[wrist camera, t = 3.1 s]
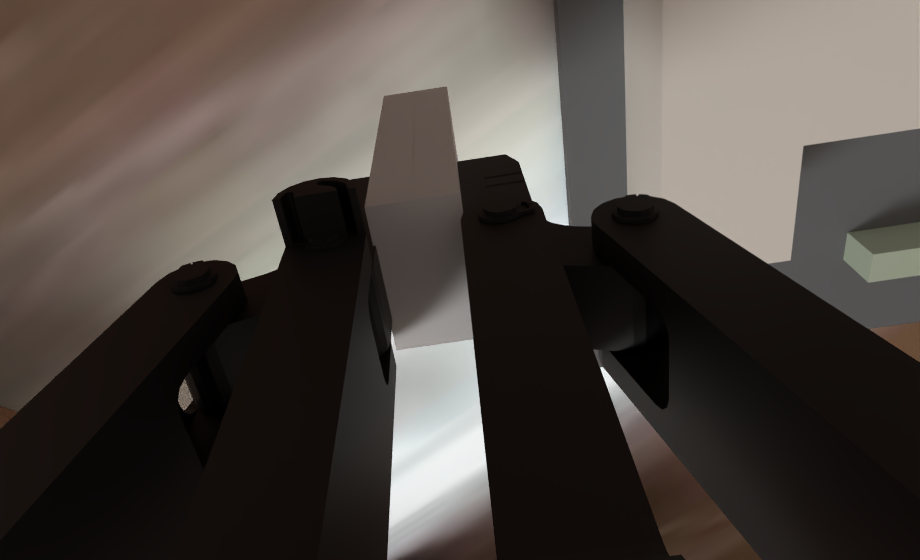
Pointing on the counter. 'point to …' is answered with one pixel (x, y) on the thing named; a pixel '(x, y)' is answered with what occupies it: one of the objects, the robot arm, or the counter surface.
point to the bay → (884, 252)
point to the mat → (820, 187)
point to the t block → (759, 100)
